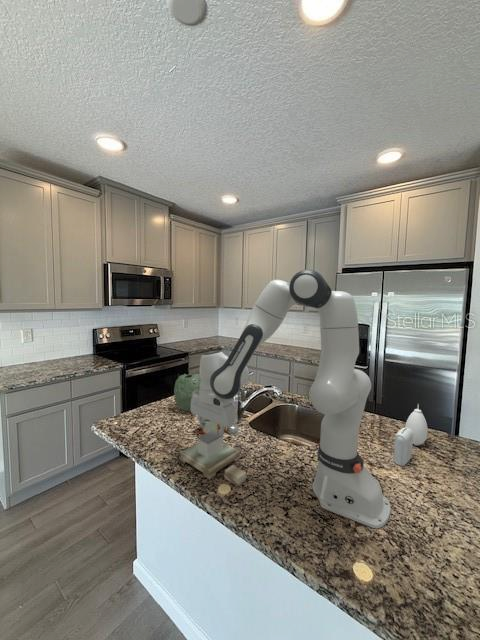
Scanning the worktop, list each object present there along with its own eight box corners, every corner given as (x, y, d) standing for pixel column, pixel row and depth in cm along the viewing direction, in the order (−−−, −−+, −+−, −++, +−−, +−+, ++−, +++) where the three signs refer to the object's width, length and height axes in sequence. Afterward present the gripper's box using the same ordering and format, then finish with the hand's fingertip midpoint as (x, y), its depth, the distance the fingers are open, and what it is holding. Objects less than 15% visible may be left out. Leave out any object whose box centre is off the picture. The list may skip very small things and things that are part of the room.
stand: (240, 458, 103) (240, 450, 103) (209, 479, 91) (209, 470, 90) (210, 443, 113) (210, 435, 113) (179, 460, 101) (179, 451, 101)
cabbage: (182, 402, 156) (182, 368, 154) (211, 407, 149) (212, 372, 147) (165, 412, 141) (166, 375, 139) (197, 419, 135) (198, 380, 133)
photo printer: (400, 452, 110) (403, 423, 109) (412, 457, 107) (415, 427, 106) (391, 462, 103) (393, 431, 102) (404, 468, 100) (406, 435, 99)
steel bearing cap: (239, 432, 123) (240, 425, 123) (232, 436, 120) (232, 429, 119) (231, 428, 127) (232, 422, 126) (224, 432, 123) (224, 425, 123)
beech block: (245, 480, 91) (246, 472, 91) (238, 487, 88) (238, 478, 88) (232, 473, 95) (232, 465, 94) (224, 478, 92) (224, 470, 91)
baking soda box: (225, 431, 123) (226, 397, 122) (220, 438, 117) (220, 402, 116) (206, 427, 126) (207, 394, 125) (200, 434, 120) (201, 399, 119)
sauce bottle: (411, 438, 122) (414, 399, 120) (430, 446, 115) (433, 405, 113) (400, 441, 118) (403, 401, 117) (418, 451, 111) (422, 408, 110)
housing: (207, 458, 97) (207, 442, 96) (198, 452, 100) (198, 437, 100) (222, 449, 103) (223, 433, 103) (213, 444, 106) (213, 429, 106)
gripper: (186, 390, 104) (186, 425, 105) (225, 403, 91) (225, 443, 92) (198, 386, 109) (198, 419, 110) (237, 398, 96) (237, 436, 97)
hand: (211, 430), depth 101 cm, fingers open, 8 cm apart
